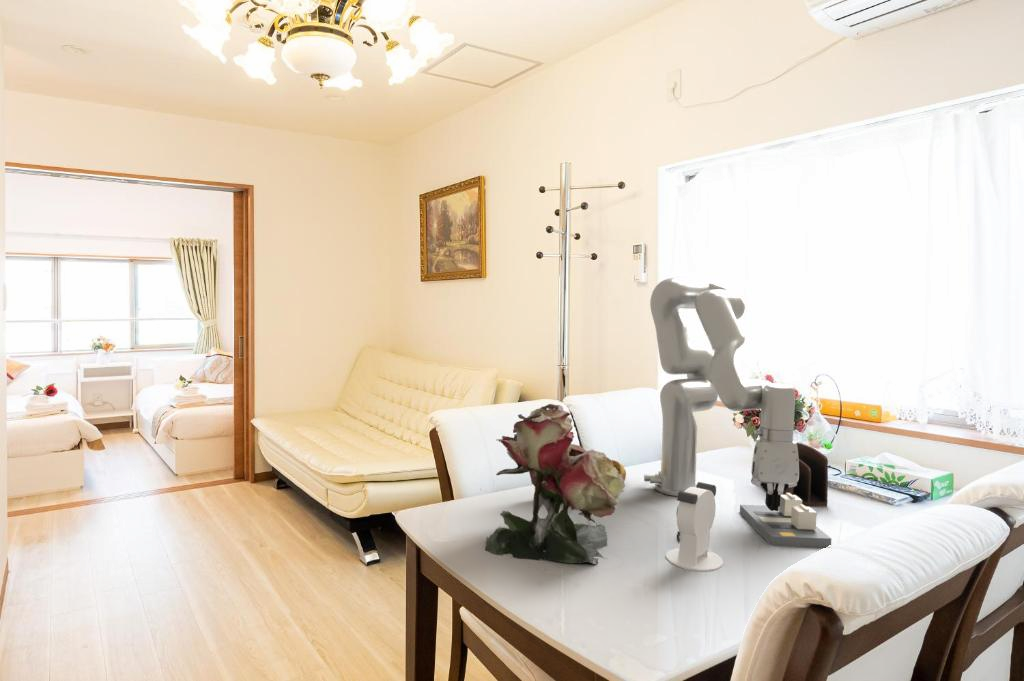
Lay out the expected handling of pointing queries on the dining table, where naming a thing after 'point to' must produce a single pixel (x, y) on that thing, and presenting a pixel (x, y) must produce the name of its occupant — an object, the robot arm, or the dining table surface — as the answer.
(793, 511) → the switch tab
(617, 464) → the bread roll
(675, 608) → the dining table surface
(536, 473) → the rose bouquet
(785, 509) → the switch tab
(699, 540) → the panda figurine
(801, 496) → the letter holder
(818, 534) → the switch panel
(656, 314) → the robot arm
